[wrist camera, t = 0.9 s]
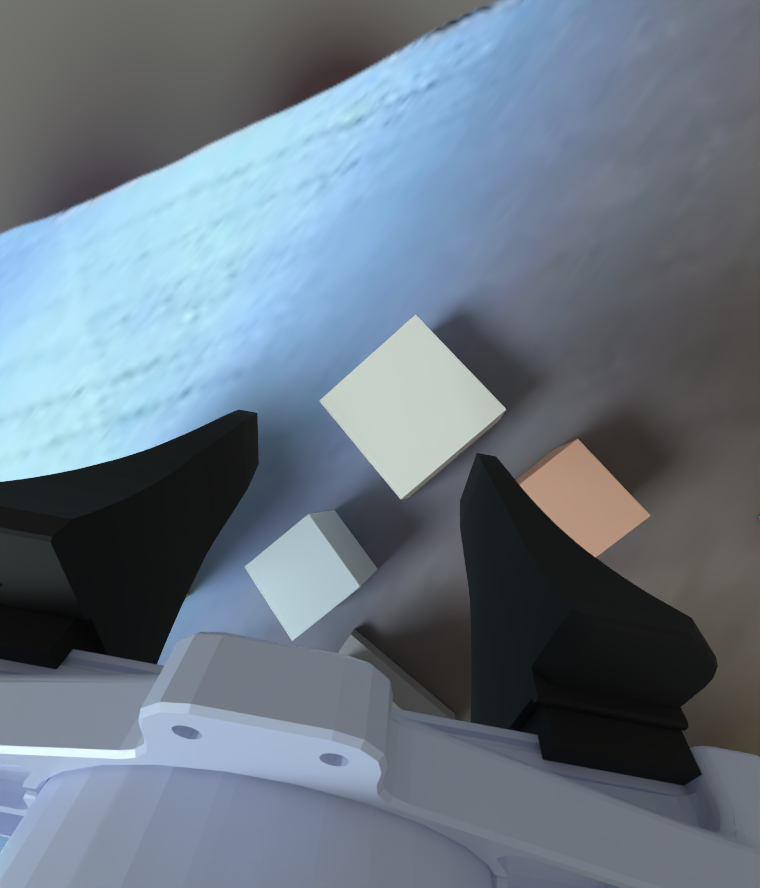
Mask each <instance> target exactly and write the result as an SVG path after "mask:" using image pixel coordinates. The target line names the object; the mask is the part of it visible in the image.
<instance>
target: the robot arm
mask: <svg viewBox="0 0 760 888" xmlns="http://www.w3.org/2000/svg"><path fill="white" fill-rule="evenodd" d="M258 464H259V462H258V424H257V413H254V412H248V411H243V410H237V411H234V412H232V413H230V414H227V415H225V416H223V417H221V418H219V419H217V420H215V421H213V422H210V423H208V424H206V425H204V426H202V427H200V428H198V429H196V430H193V431H191V432H189V433H187V434H185V435H182V436H180V437H177V438H175V439H173V440H170V441H168V442H165V443H163V444H161V445H158V446H156V447H153V448H150V449H147V450H145V451H142V452H139V453H136V454H133V455H129V456H126V457H123V458H120V459H116V460H113V461H109V462H105V463H101V464H97V465H93V466H89V467H85V468H81V469H77V470H72V471H67V472H62V473H57V474H51V475H46V476H40V477H34V478H28V479H21V480H13V481H5V482H0V836H4V837H8V838H10V839H9V840H8V842H7V843H6V845H5V846H4V848H3V849H2V851H1V852H0V888H760V757H759V756H757V755H755V754H750V753H745V752H739V751H734V750H728V749H723V748H717V747H712V746H696V747H691V748H689V746H688V744H687V742H686V739H685V737H684V735H683V733H682V731H681V730H686V729H687V728H688V722H687V720H686V718H685V716H684V714H683V712H682V710H681V708H680V707H681V706H682V705H683V704H685V703H686V702H687V701H688V700H689V699H691V698H692V697H693V696H694V695H696V694H697V693H698V692H699V691H701V690H702V689H703V688H704V687H705V686H706V685H707V684H708V683H709V682H710V681H711V680H712V679H713V677H714V675H715V672H716V669H717V666H718V665H717V660H716V656H715V655H714V653H713V651H712V650H711V648H710V647H709V645H708V643H707V642H706V640H705V639H704V637H703V635H702V634H701V632H700V631H699V629H698V627H697V626H696V624H695V623H694V621H693V619H692V618H691V617H689V616H687V615H685V614H684V613H682V612H680V611H678V610H677V609H675V608H673V607H671V606H670V605H668V604H666V603H664V602H662V601H661V600H659V599H657V598H655V597H654V596H652V595H650V594H648V593H647V592H645V591H644V590H642V589H640V588H639V587H637V586H636V585H634V584H633V583H631V582H630V581H628V580H627V579H625V578H623V577H622V576H620V575H619V574H618V573H616V572H615V571H613V570H612V569H610V568H609V567H607V566H606V565H605V564H603V563H602V562H601V561H599V560H598V559H597V558H595V557H594V556H593V555H591V554H590V553H589V552H588V551H586V550H585V549H584V548H583V547H581V546H580V545H579V544H578V543H576V542H575V541H574V540H573V539H572V538H571V537H570V536H568V535H567V534H566V533H565V532H564V531H563V530H562V529H560V528H559V527H558V526H557V525H556V524H555V523H554V522H553V521H552V520H551V519H550V518H549V517H548V516H547V515H546V514H545V513H544V512H543V511H542V510H541V509H540V508H539V507H538V506H537V504H536V503H535V502H534V501H533V500H532V499H531V498H530V497H529V496H528V494H527V493H526V492H525V491H524V490H523V489H522V487H521V486H520V485H519V484H518V483H517V482H516V480H515V479H514V478H513V477H512V475H511V474H510V473H509V472H508V470H507V469H506V468H505V467H504V466H503V464H502V463H501V462H500V461H499V460H498V459H497V457H496V456H490V455H485V454H479V453H477V454H476V457H475V460H474V463H473V466H472V468H471V471H470V474H469V477H468V480H467V483H466V486H465V489H464V491H463V494H462V497H461V500H460V529H461V537H462V544H463V551H464V558H465V565H466V571H467V578H468V585H469V594H470V610H471V648H472V702H471V723H470V722H465V721H459V720H454V719H449V718H443V717H438V716H432V715H427V714H422V713H416V712H411V711H405V710H400V709H395V708H392V702H393V693H392V688H391V682H390V680H389V679H388V678H387V677H386V676H385V675H384V674H383V673H382V672H381V671H379V670H378V669H377V668H376V667H375V666H373V665H372V664H371V663H369V662H366V661H363V660H360V659H357V658H354V657H351V656H348V655H344V654H338V653H333V652H328V651H322V650H317V649H311V648H306V647H301V646H295V645H290V644H284V643H279V642H273V641H268V640H263V639H257V638H252V637H246V636H241V635H235V634H230V633H220V632H200V633H197V634H194V635H192V636H190V637H187V638H185V639H183V640H180V641H178V642H177V644H176V646H175V648H174V649H173V651H172V653H171V655H170V657H169V658H168V660H167V662H166V664H165V666H162V665H157V662H158V660H159V657H160V655H161V652H162V650H163V647H164V645H165V643H166V640H167V638H168V636H169V633H170V631H171V629H172V626H173V624H174V622H175V620H176V617H177V615H178V613H179V610H180V608H181V606H182V604H183V602H184V600H185V597H186V595H187V593H188V591H189V589H190V587H191V585H192V582H193V580H194V578H195V576H196V574H197V572H198V570H199V568H200V566H201V564H202V562H203V560H204V558H205V556H206V554H207V552H208V550H209V549H210V547H211V545H212V544H213V542H214V540H215V539H216V537H217V536H218V534H219V532H220V531H221V529H222V528H223V526H224V525H225V523H226V522H227V520H228V519H229V517H230V515H231V514H232V512H233V511H234V509H235V508H236V506H237V505H238V503H239V501H240V500H241V498H242V497H243V495H244V493H245V492H246V490H247V489H248V486H249V484H250V482H251V480H252V478H253V476H254V473H255V471H256V469H257V466H258Z"/></svg>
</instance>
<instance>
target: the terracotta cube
mask: <svg viewBox="0 0 760 888" xmlns="http://www.w3.org/2000/svg"><path fill="white" fill-rule="evenodd" d="M516 482H517V483H518V484H519V485H520V486H521V487H522V489H523V490H524V491H525V492H526V493H527V494H528V496H529V497H530V498H531V499H532V500H533V501H534V502H535V503H536V504H537V506H538V507H539V508H540V509H541V510H542V511H543V512H544V513H545V514H546V515H547V516H548V517H549V518H550V519H551V520H552V521H553V522H554V523H555V524H556V525H557V526H558V527H559V528H560V529H562V530H563V531H564V532H565V533H566V534H567V535H568V536H570V537H571V538H572V539H573V540H574V541H575V542H576V543H578V544H579V545H580V546H581V547H583V548H584V549H585V550H586V551H588V552H589V553H590V554H591V555H593V556H594V557H595V558H596V557H597V556H598V555H599V554H601V553H602V552H603V551H605V550H606V549H607V548H609V547H610V546H611V545H613V544H614V543H615V542H617V541H618V540H619V539H621V538H622V537H623V536H625V535H626V534H627V533H628V532H630V531H631V530H632V529H634V528H635V527H636V526H638V525H639V524H640V523H642V522H643V521H644V520H646V519H647V518H648V517H650V515H649V514H648V513H647V511H646V510H645V509H644V508H643V507H642V506H641V505H640V504H639V503H638V502H637V501H636V500H635V499H634V498H633V497H632V496H631V495H630V493H629V492H628V491H627V490H626V489H625V488H624V487H623V486H622V485H621V484H620V483H619V482H618V481H617V480H616V479H615V478H614V476H613V475H612V474H611V473H610V472H609V471H608V470H607V469H606V468H605V467H604V466H603V465H602V464H601V463H600V462H599V461H598V460H597V458H596V457H595V456H594V455H593V454H592V453H591V452H590V451H589V450H588V449H587V448H586V447H585V446H584V445H583V444H582V443H581V442H580V440H579V439H576V440H574V441H571V442H569V443H567V444H564V445H562V446H560V447H557V448H555V449H554V450H552V451H551V452H550V453H549V454H547V455H546V456H545V457H543V458H542V459H541V460H540V461H538V462H537V463H536V464H535V465H533V466H532V467H531V468H530V469H528V470H527V471H526V472H525V473H523V474H522V475H521V476H519V477H518V478H517V479H516Z"/></svg>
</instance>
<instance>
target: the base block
mask: <svg viewBox="0 0 760 888" xmlns="http://www.w3.org/2000/svg"><path fill="white" fill-rule="evenodd" d="M320 402H321V404H322V405H323V406H324V407H325V408H326V410H327V411H328V412H329V413H330V414H331V416H332V417H333V418H334V419H335V421H336V422H337V423H338V424H339V425H340V427H341V428H342V429H343V430H344V431H345V433H346V434H347V435H348V436H349V437H350V439H351V440H352V441H353V442H354V444H355V445H356V446H357V447H358V448H359V450H360V451H361V452H362V453H363V454H364V456H365V457H366V458H367V459H368V460H369V462H370V463H371V464H372V465H373V466H374V468H375V469H376V470H377V471H378V473H379V474H380V475H381V476H382V477H383V479H384V480H385V481H386V482H387V483H388V485H389V486H390V487H391V488H392V489H393V491H394V492H395V493H396V494H397V496H398V497H399V498H400V499H406V498H409V497H410V496H411V495H413V494H414V493H415V492H416V491H417V490H418V489H420V488H421V487H422V486H423V485H424V484H426V483H427V482H428V481H429V480H430V479H431V478H433V477H434V476H435V475H436V474H437V473H438V472H440V471H441V470H442V469H443V468H444V467H445V466H447V465H448V464H449V463H450V462H451V461H453V460H454V459H455V458H456V457H457V456H458V455H460V454H461V453H462V452H463V451H464V450H465V449H467V448H468V447H469V446H470V445H471V444H472V443H474V442H475V441H476V440H477V439H478V438H480V437H481V436H482V435H483V434H484V433H485V432H487V431H488V430H489V429H490V428H491V427H492V426H494V425H495V424H496V423H497V422H498V421H499V420H500V419H501V417H502V416H503V414H504V412H505V411H506V408H505V407H504V406H503V405H502V404H501V403H500V402H499V401H498V400H497V399H496V398H495V397H494V396H493V395H492V394H491V393H490V392H489V391H488V390H487V388H486V387H485V386H484V385H483V384H482V383H481V382H480V381H479V380H478V379H477V378H476V377H475V376H474V375H473V374H472V373H471V372H470V371H469V370H468V369H467V368H466V367H465V366H464V365H463V363H462V362H461V361H460V360H459V359H458V358H457V357H456V356H455V355H454V354H453V353H452V352H451V351H450V350H449V349H448V348H447V347H446V346H445V345H444V344H443V343H442V342H441V341H440V340H439V338H438V337H437V336H436V335H435V334H434V333H433V332H432V331H431V330H430V329H429V328H428V327H427V326H426V325H425V324H424V323H423V322H422V321H421V320H420V319H419V318H418V317H417V316H416V315H415V316H413V317H412V318H411V319H410V320H409V321H408V322H407V323H406V324H405V325H403V326H402V327H401V328H400V329H399V330H398V331H397V332H396V333H394V334H393V335H392V336H391V337H390V338H389V339H388V340H387V341H386V342H384V343H383V344H382V345H381V346H380V347H379V348H378V349H377V350H375V351H374V352H373V353H372V354H371V355H370V356H369V357H368V358H367V359H365V360H364V361H363V362H362V363H361V364H360V365H359V366H358V367H356V368H355V369H354V370H353V371H352V372H351V373H350V374H349V375H348V376H346V377H345V378H344V379H343V380H342V381H341V382H340V383H339V384H337V385H336V386H335V387H334V388H333V389H332V390H331V391H330V392H328V393H327V394H326V395H325V396H324V397H323V398H322V399H321V400H320Z"/></svg>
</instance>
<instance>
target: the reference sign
mask: <svg viewBox="0 0 760 888" xmlns="http://www.w3.org/2000/svg"><path fill="white" fill-rule="evenodd" d="M338 654H344V655H348V656H351V657H354V658H357V659H360V660H363V661H366V662H369V663H371V664H372V665H373V666H375V667H376V668H377V669H378V670H379V671H381V672H382V673H383V674H384V675H385V676H386V677H387V678H388V679H389V680H390V682H391V688H392V693H393V702H392V708H395V709H400V710H405V711H411V712H416V713H422V714H427V715H432V716H438V717H443V718H449V719H454V720H455V713H453V712H452V711H451V710H450V709H449V708H448V707H446V706H445V705H444V704H443V703H442V702H440V701H439V700H438V699H437V698H436V697H434V696H433V695H432V694H431V693H430V692H429V691H427V690H426V689H425V688H424V687H423V686H421V685H420V684H419V683H418V682H417V681H416V680H414V679H413V678H412V677H411V676H410V675H408V674H407V673H406V672H405V671H404V670H403V669H401V668H400V667H399V666H398V665H397V664H395V663H394V662H393V661H392V660H391V659H390V658H388V657H387V656H386V655H385V654H384V653H382V652H381V651H380V650H379V649H378V648H377V647H375V646H374V645H373V644H372V643H371V642H369V641H368V640H367V639H366V638H365V637H364V636H362V635H361V634H360V633H359V632H358V631H356V630H355V629H354V631H353V632H352V633H351V635H350V636H349V638H348V639H347V640H346V642H345V643H344V645H343V646H342V648H341V649H340V650H339V652H338Z"/></svg>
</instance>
